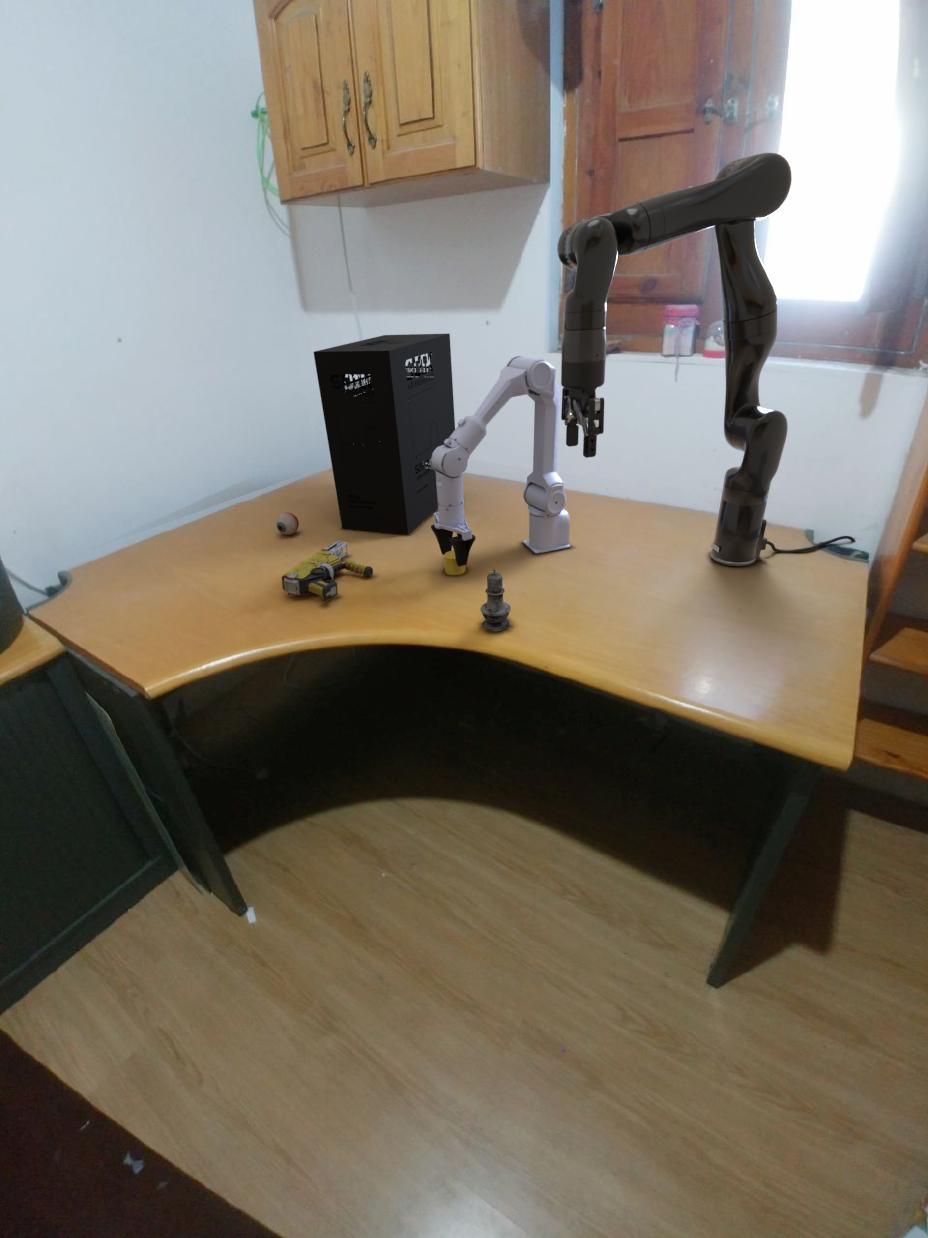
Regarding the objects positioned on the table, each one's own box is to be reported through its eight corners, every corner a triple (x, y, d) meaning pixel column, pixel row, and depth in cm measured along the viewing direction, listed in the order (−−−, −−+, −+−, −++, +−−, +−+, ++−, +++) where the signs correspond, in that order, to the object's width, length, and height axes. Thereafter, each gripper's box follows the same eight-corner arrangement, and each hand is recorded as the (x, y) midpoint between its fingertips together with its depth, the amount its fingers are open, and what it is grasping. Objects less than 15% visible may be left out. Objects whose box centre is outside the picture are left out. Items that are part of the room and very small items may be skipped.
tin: (446, 576, 138) (444, 559, 135) (444, 567, 142) (443, 551, 139) (466, 574, 138) (465, 557, 136) (464, 565, 142) (463, 549, 140)
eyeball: (273, 537, 164) (268, 516, 161) (287, 528, 169) (282, 508, 166) (291, 539, 161) (286, 518, 158) (305, 530, 166) (301, 510, 163)
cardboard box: (400, 486, 197) (384, 334, 175) (458, 490, 190) (449, 333, 168) (342, 528, 167) (313, 351, 144) (408, 534, 160) (389, 350, 138)
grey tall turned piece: (508, 633, 114) (507, 576, 108) (478, 631, 116) (475, 574, 110) (512, 617, 119) (512, 562, 113) (483, 615, 120) (481, 561, 114)
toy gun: (389, 548, 145) (334, 537, 149) (339, 588, 125) (277, 575, 129) (389, 566, 147) (335, 555, 151) (340, 608, 127) (279, 595, 131)
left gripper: (420, 497, 135) (424, 552, 142) (449, 515, 124) (453, 574, 131) (447, 491, 138) (451, 545, 145) (479, 508, 127) (481, 567, 134)
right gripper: (621, 359, 99) (615, 458, 107) (587, 350, 111) (584, 440, 119) (578, 364, 97) (575, 463, 106) (549, 354, 109) (548, 444, 118)
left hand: (454, 559), depth 138 cm, fingers open, 7 cm apart
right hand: (580, 451), depth 112 cm, fingers open, 8 cm apart
